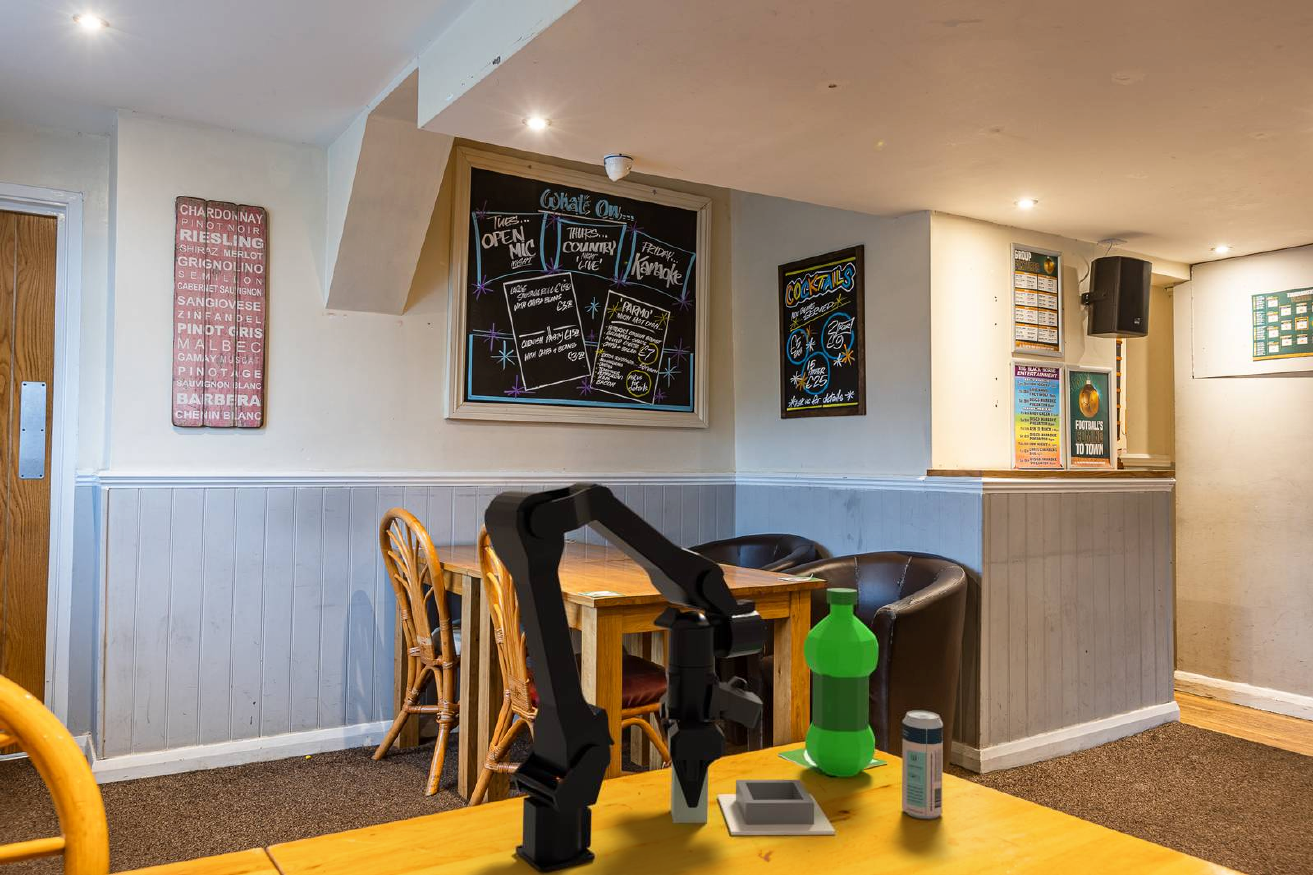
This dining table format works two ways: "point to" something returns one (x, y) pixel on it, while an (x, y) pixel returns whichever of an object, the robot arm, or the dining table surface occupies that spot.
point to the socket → (773, 809)
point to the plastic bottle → (841, 688)
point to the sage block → (679, 805)
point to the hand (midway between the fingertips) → (688, 794)
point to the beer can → (922, 764)
